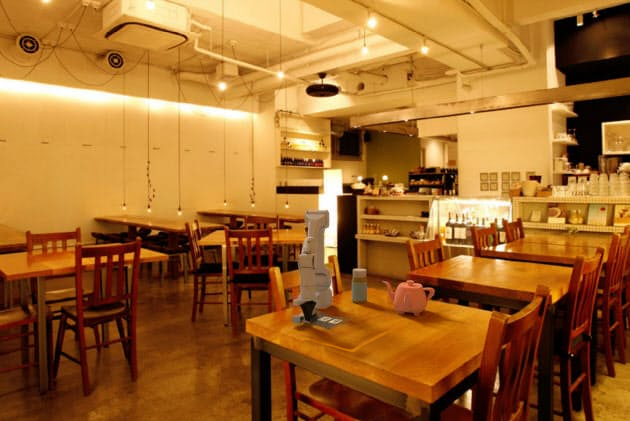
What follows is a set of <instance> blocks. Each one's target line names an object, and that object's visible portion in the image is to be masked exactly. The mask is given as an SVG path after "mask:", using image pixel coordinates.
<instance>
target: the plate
mask: <svg viewBox="0 0 630 421" xmlns="http://www.w3.org/2000/svg"><path fill="white" fill-rule="evenodd" d="M323 317H329V318H332V319H331V320H329V321H332V320H334V319H338V320H343V322H340V323H338V324H336V325H335V324H331V323H328V322H329V321H326V322H323V321H318V319H320V318H323ZM349 321H350V319H348V318H343V317H339V316H336V315H332V314H326V313H321V312H317V316H311V320H310V321H305V320H303V322H302V324H303V323H304V324H308V325H312V326H314V327H315V326H316V327H320V328H324V329H327V330H330V329H333V328H335V327H337V326H339V325H342V324H344V323H347V322H349Z"/></svg>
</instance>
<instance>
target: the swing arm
mask: <svg viewBox="0 0 630 421" xmlns="http://www.w3.org/2000/svg"><path fill="white" fill-rule="evenodd" d="M317 310H318V309H317V308H316V307H315V308H314V310H313V313H312V316H317V313H318V311H317ZM291 318H292V320H291V321H292V324H298V325H301V324H303V320H305V318H304V314H303V311H301V313H299V314H294V315H292V316H291Z"/></svg>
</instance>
